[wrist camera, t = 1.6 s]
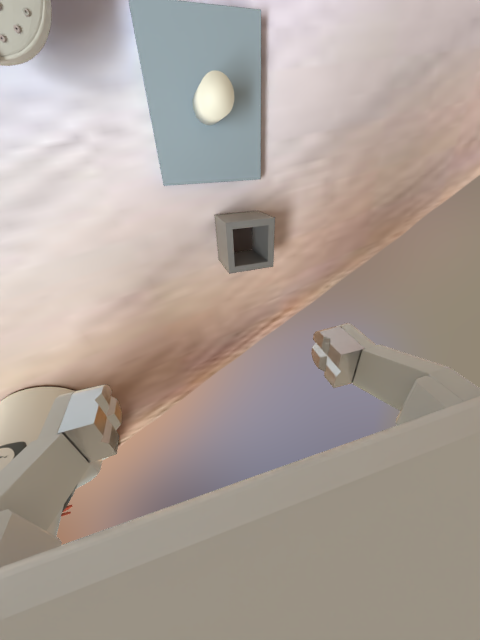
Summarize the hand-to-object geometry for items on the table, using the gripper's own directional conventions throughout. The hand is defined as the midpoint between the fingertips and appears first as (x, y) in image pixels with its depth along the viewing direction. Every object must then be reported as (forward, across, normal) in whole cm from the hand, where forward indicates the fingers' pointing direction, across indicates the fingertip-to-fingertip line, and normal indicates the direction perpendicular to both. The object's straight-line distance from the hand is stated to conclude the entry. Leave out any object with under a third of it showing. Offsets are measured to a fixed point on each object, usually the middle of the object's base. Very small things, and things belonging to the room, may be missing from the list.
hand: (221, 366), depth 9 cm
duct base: (+28, -6, -11) cm, 31 cm away
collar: (+28, -8, +3) cm, 29 cm away
